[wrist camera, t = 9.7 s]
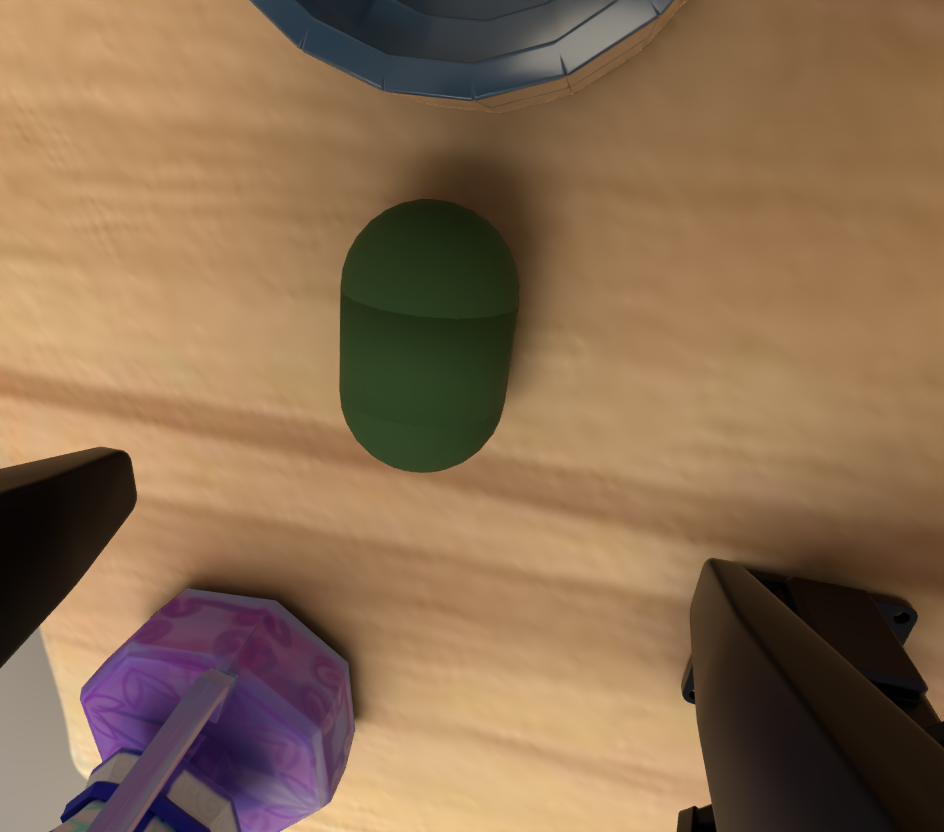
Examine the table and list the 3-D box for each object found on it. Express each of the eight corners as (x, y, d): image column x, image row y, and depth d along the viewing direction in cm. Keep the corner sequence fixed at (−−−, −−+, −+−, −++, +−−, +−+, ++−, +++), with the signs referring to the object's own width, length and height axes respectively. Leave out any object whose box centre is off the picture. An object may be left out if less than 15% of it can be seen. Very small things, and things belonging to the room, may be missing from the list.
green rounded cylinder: (509, 444, 21) (472, 521, 16) (377, 416, 22) (308, 481, 17) (544, 205, 18) (509, 221, 13) (386, 184, 18) (304, 192, 14)
